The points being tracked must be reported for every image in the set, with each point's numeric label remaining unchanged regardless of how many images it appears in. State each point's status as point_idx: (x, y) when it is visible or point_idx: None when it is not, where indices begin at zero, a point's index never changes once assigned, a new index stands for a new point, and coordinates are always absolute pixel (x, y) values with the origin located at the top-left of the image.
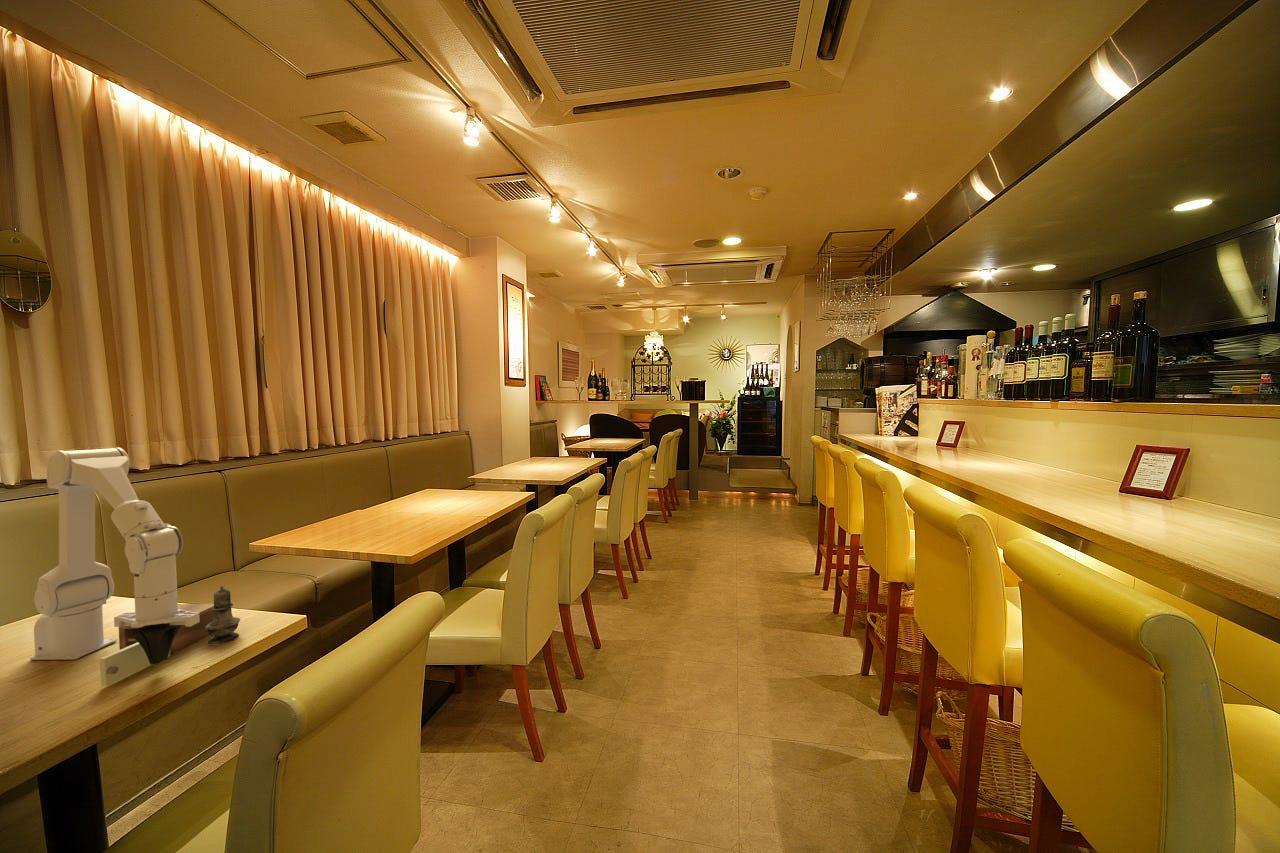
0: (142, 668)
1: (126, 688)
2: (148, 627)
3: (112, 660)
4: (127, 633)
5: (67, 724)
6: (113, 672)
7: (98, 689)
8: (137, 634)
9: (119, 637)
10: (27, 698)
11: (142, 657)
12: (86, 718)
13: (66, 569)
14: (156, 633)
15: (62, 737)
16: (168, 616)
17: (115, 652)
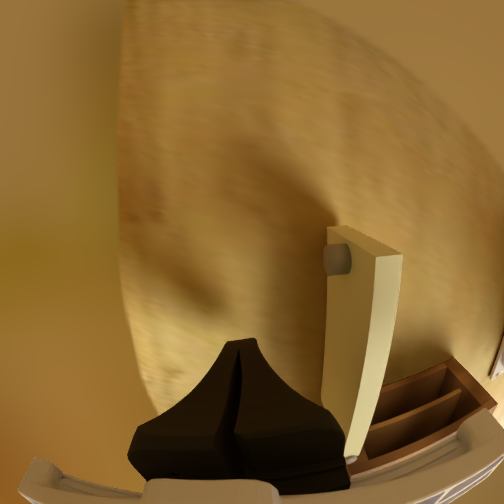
0: (325, 336)
1: (251, 239)
2: (277, 480)
3: (361, 281)
4: (470, 400)
5: (193, 50)
6: (324, 254)
7: (347, 218)
8: (270, 429)
9: (479, 384)
10: (471, 159)
11: (337, 360)
12: (170, 81)
13: None
14: (132, 440)
15: (136, 24)
16: None
17: (389, 317)
